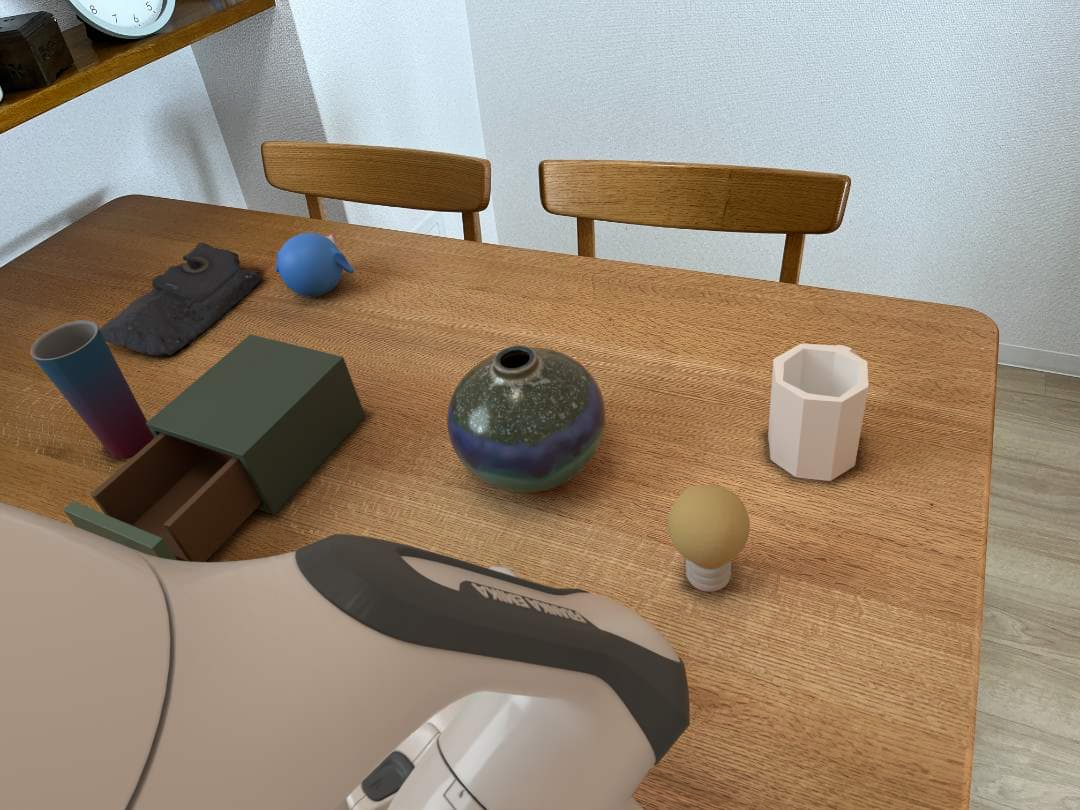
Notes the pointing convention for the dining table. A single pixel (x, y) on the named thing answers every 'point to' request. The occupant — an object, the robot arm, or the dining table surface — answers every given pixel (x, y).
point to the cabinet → (268, 413)
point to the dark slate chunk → (182, 302)
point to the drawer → (171, 501)
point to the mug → (817, 410)
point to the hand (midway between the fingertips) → (364, 617)
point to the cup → (93, 385)
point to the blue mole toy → (311, 264)
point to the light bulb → (708, 533)
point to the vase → (526, 419)
